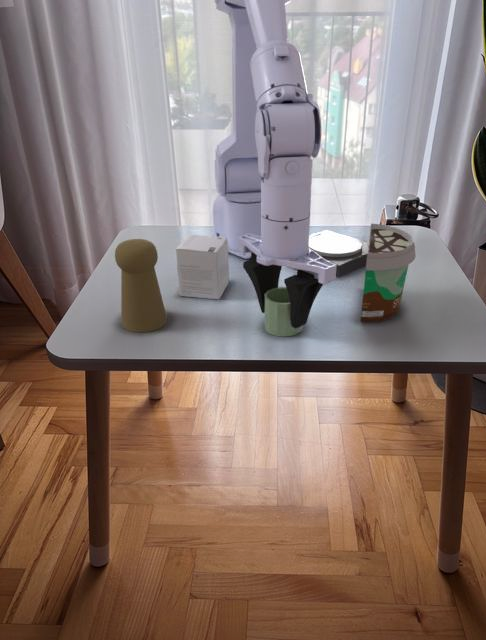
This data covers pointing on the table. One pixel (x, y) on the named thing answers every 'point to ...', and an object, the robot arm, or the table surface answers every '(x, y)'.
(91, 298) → the table surface
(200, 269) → the product carton
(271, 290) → the green cup
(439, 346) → the table surface
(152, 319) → the olive yellow pawn
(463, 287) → the table surface
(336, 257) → the kitchen scale
